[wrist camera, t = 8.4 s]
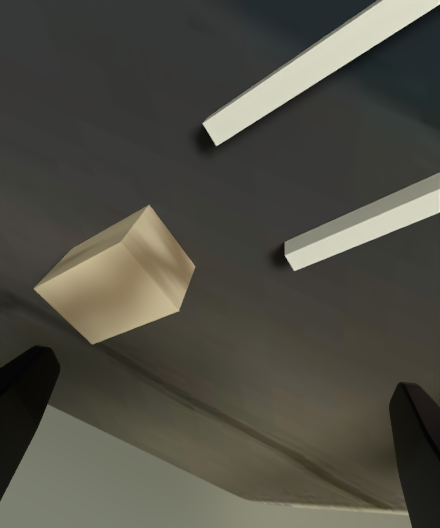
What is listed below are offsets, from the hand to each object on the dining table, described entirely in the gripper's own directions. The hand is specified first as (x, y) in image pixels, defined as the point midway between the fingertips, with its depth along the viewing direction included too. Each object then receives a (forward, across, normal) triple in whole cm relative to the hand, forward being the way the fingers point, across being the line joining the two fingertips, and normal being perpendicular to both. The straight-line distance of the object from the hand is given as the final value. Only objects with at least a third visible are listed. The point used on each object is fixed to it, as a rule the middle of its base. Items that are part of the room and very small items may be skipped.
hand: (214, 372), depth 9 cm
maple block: (+12, +8, +5) cm, 16 cm away
